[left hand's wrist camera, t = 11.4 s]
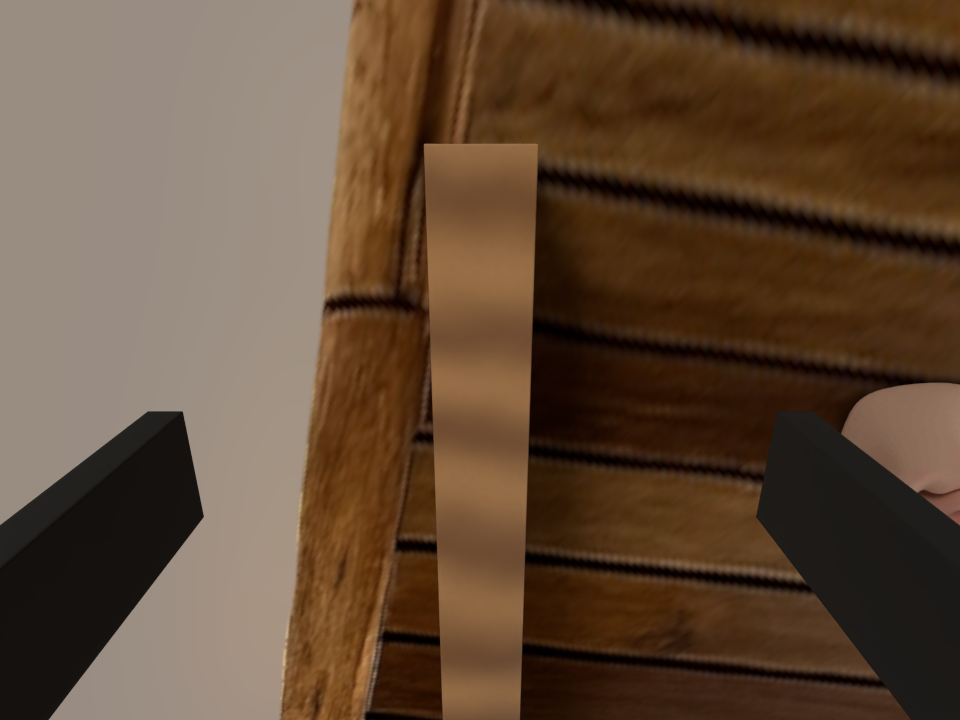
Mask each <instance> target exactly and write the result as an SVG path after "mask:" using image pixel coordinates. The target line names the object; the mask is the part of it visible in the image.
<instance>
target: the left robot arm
mask: <svg viewBox="0 0 960 720" xmlns="http://www.w3.org/2000/svg"><path fill="white" fill-rule="evenodd" d="M203 517H204V515H203V510H202V505H201V501H200V496H199V490H198V485H197V480H196V475H195V470H194V465H193V461H192V455H191V451H190V446H189V440H188V435H187V431H186V426H185V421H184V416H183V412H147V413H145V414H144V415H143V416H142V417H140V418H139V419H138V420H136V421H135V422H134V423H132V424H131V425H130V426H129V427H127V428H126V429H125V430H123V431H122V432H121V433H119V434H118V435H117V436H116V437H114V438H113V439H112V440H110V441H109V442H108V443H106V444H105V445H104V446H103V447H101V448H100V449H99V450H97V451H96V452H95V453H93V454H92V455H91V456H90V457H88V458H87V459H86V460H84V461H83V462H82V463H80V464H79V465H78V466H77V467H75V468H74V469H73V470H71V471H70V472H69V473H67V474H66V475H65V476H64V477H62V478H61V479H60V480H58V481H57V482H56V483H54V484H53V485H52V486H51V487H49V488H48V489H47V490H45V491H44V492H43V493H41V494H40V495H39V496H38V497H36V498H35V499H34V500H32V501H31V502H30V503H28V504H27V505H26V506H25V507H23V508H22V509H21V510H19V511H18V512H17V513H15V514H14V515H13V516H12V517H10V518H9V519H8V520H7V521H5V522H4V523H2V524H1V525H0V720H49V718H50V717H51V716H52V715H53V713H54V712H55V711H56V709H57V708H58V707H59V705H60V704H61V703H62V702H63V700H64V699H65V698H66V696H67V695H68V694H69V692H70V691H71V690H72V688H73V687H74V686H75V685H76V683H77V682H78V681H79V679H80V678H81V677H82V675H83V674H84V673H85V671H86V670H87V669H88V668H89V666H90V665H91V664H92V662H93V661H94V660H95V658H96V657H97V656H98V654H99V653H100V652H101V651H102V649H103V648H104V647H105V645H106V644H107V643H108V641H109V640H110V639H111V637H112V636H113V635H114V634H115V632H116V631H117V630H118V628H119V627H120V626H121V624H122V623H123V622H124V620H125V619H126V618H127V616H128V615H129V614H130V613H131V611H132V610H133V609H134V607H135V606H136V605H137V604H138V602H139V601H140V600H141V598H142V597H143V596H144V594H145V593H146V592H147V590H148V589H149V588H150V587H151V585H152V584H153V583H154V581H155V580H156V579H157V577H158V576H159V575H160V573H161V572H162V571H163V570H164V568H165V567H166V566H167V564H168V563H169V562H170V560H171V559H172V558H173V556H174V555H175V554H176V552H177V551H178V550H179V549H180V547H181V546H182V545H183V543H184V542H185V541H186V539H187V538H188V537H189V536H190V534H191V533H192V532H193V530H194V529H195V528H196V526H197V525H198V524H199V522H200V521H201V520H202V519H203ZM756 517H757V519H758V520H759V521H760V522H761V524H762V525H763V526H764V528H765V529H766V530H767V532H768V533H769V534H770V536H771V537H772V538H773V539H774V541H775V542H776V543H777V545H778V546H779V547H780V549H781V550H782V551H783V553H784V554H785V555H786V556H787V558H788V559H789V560H790V562H791V563H792V564H793V566H794V567H795V568H796V570H797V571H798V572H799V573H800V575H801V576H802V577H803V579H804V580H805V581H806V583H807V584H808V585H809V587H810V588H811V589H812V590H813V592H814V593H815V594H816V596H817V597H818V598H819V600H820V601H821V602H822V604H823V605H824V606H825V607H826V609H827V610H828V611H829V613H830V614H831V615H832V617H833V618H834V619H835V620H836V622H837V623H838V624H839V626H840V627H841V628H842V630H843V631H844V632H845V634H846V635H847V636H848V637H849V639H850V640H851V641H852V643H853V644H854V645H855V647H856V648H857V649H858V651H859V652H860V653H861V654H862V656H863V657H864V658H865V660H866V661H867V662H868V664H869V665H870V666H871V668H872V669H873V670H874V671H875V673H876V674H877V675H878V677H879V678H880V679H881V681H882V682H883V683H884V685H885V686H886V687H887V688H888V690H889V691H890V692H891V694H892V695H893V696H894V698H895V699H896V700H897V702H898V703H899V704H900V705H901V707H902V708H903V709H904V711H905V712H906V713H907V715H908V716H909V717H910V718H911V720H960V525H959V524H958V523H956V522H955V521H954V520H952V519H951V518H950V517H948V516H947V515H946V514H945V513H943V512H942V511H941V510H939V509H938V508H937V507H935V506H934V505H933V504H932V503H930V502H929V501H928V500H926V499H925V498H924V497H922V496H921V495H920V494H919V493H917V492H916V491H915V490H913V489H912V488H911V487H909V486H908V485H907V484H906V483H904V482H903V481H902V480H900V479H899V478H898V477H896V476H895V475H894V474H893V473H891V472H890V471H889V470H887V469H886V468H885V467H883V466H882V465H881V464H880V463H878V462H877V461H876V460H874V459H873V458H872V457H870V456H869V455H868V454H867V453H865V452H864V451H863V450H861V449H860V448H859V447H857V446H856V445H855V444H854V443H852V442H851V441H850V440H848V439H847V438H846V437H844V436H843V435H842V434H841V433H839V432H838V431H837V430H835V429H834V428H833V427H831V426H830V425H829V424H828V423H826V422H825V421H824V420H822V419H821V418H820V417H818V416H817V415H816V414H815V413H813V412H777V416H776V421H775V426H774V431H773V435H772V440H771V445H770V450H769V455H768V460H767V465H766V470H765V475H764V480H763V485H762V490H761V495H760V500H759V505H758V510H757V515H756Z"/></svg>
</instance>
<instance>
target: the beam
mask: <svg viewBox="0 0 960 720" xmlns="http://www.w3.org/2000/svg"><path fill="white" fill-rule="evenodd" d="M424 162H425V192H426V223H427V253H428V283H429V314H430V344H431V374H432V404H433V435H434V465H435V495H436V526H437V556H438V586H439V616H440V647H441V677H442V707H443V720H520V698H521V667H522V636H523V605H524V574H525V543H526V512H527V481H528V450H529V419H530V388H531V357H532V326H533V295H534V264H535V233H536V202H537V171H538V144H424Z"/></svg>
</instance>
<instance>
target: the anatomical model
mask: <svg viewBox="0 0 960 720" xmlns="http://www.w3.org/2000/svg"><path fill="white" fill-rule="evenodd" d="M841 434H842V435H843V436H844V437H846V438H847V439H848V440H850V441H851V442H852V443H854V444H855V445H856V446H857V447H859V448H860V449H861V450H863V451H864V452H865V453H867V454H868V455H869V456H870V457H872V458H873V459H874V460H876V461H877V462H878V463H880V464H881V465H882V466H883V467H885V468H886V469H887V470H889V471H890V472H891V473H893V474H894V475H895V476H896V477H898V478H899V479H900V480H902V481H903V482H904V483H906V484H907V485H908V486H909V487H911V488H912V489H913V490H915V491H916V492H917V493H919V494H920V495H921V496H922V497H924V498H925V499H926V500H928V501H929V502H930V503H932V504H933V505H934V506H935V507H937V508H938V509H939V510H941V511H942V512H943V513H945V514H946V515H947V516H948V517H950V518H951V519H952V520H954V521H955V522H956V523H958V524H959V525H960V385H959V384H951V383H921V384H910V385H902V386H896V387H891V388H885V389H881V390H878V391H875V392H873V393H870V394H868V395H867V396H865V397H863V398H862V399H861V400H860V401H859V402H857V404H856V405H855V406H854V407H853V409H852V410H851V412H850V414H849V416H848V418H847V420H846V422H845V424H844V427H843V430H842V432H841Z"/></svg>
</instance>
